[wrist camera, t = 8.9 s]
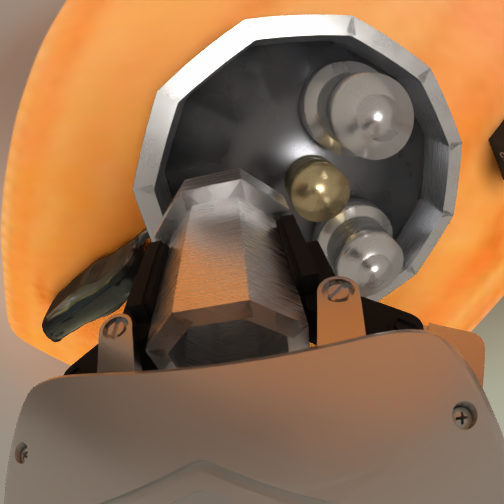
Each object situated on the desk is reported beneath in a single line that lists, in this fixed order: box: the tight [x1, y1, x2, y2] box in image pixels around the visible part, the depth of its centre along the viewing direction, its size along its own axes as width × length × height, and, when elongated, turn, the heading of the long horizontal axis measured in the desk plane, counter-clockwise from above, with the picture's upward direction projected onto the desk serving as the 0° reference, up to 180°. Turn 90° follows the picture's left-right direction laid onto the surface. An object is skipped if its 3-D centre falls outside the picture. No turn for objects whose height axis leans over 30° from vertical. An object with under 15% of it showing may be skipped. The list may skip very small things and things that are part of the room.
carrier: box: [164, 41, 425, 297], centre depth 17 cm, size 22×22×6 cm
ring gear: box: [133, 15, 462, 302], centre depth 17 cm, size 21×21×3 cm
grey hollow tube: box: [145, 168, 309, 370], centre depth 11 cm, size 6×6×8 cm
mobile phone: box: [42, 229, 150, 342], centre depth 21 cm, size 5×3×15 cm
